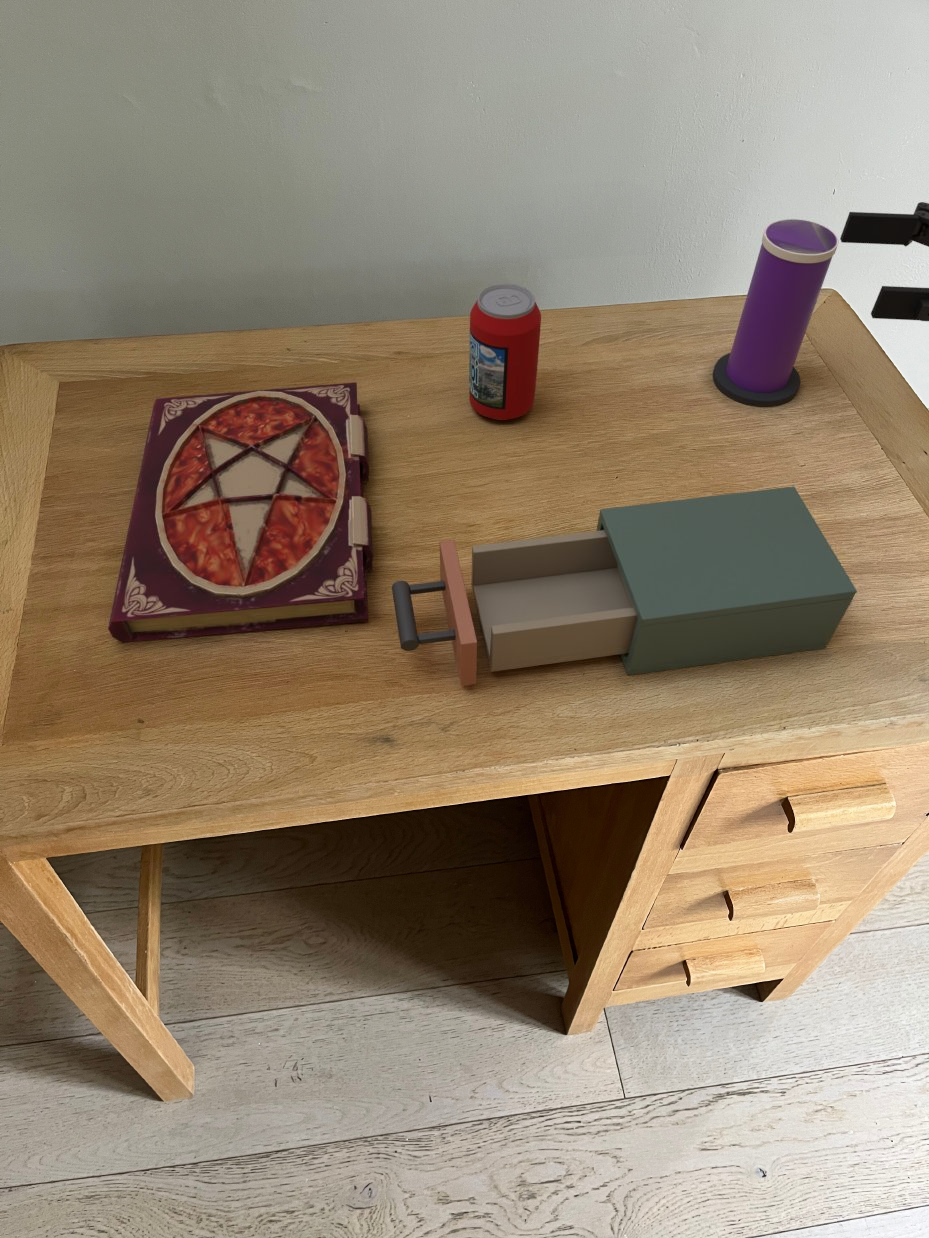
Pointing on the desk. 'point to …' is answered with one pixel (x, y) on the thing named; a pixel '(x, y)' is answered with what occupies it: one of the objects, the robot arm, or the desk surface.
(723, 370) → the coaster
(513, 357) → the beverage can
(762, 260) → the tube
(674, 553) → the cabinet
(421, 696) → the desk surface
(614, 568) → the drawer
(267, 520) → the book
